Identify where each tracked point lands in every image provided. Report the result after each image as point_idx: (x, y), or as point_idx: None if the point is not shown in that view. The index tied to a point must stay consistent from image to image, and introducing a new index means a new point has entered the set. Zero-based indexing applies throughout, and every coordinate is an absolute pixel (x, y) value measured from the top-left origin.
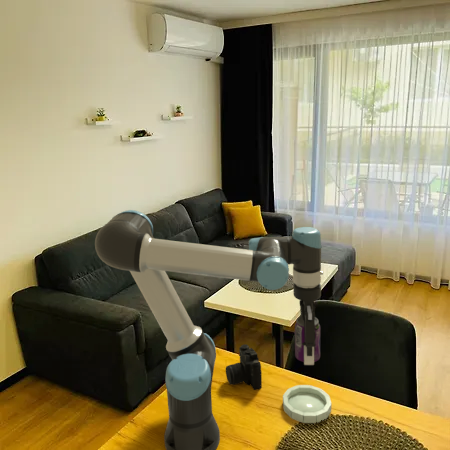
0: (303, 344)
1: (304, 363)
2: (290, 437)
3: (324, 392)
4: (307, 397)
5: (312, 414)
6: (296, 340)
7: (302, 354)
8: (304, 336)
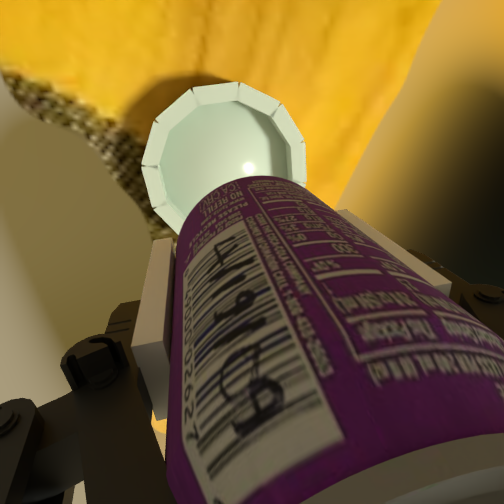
0: (67, 367)
1: (154, 245)
2: (59, 118)
3: None
4: (261, 171)
5: (155, 195)
6: (236, 248)
7: (180, 253)
8: (145, 424)
